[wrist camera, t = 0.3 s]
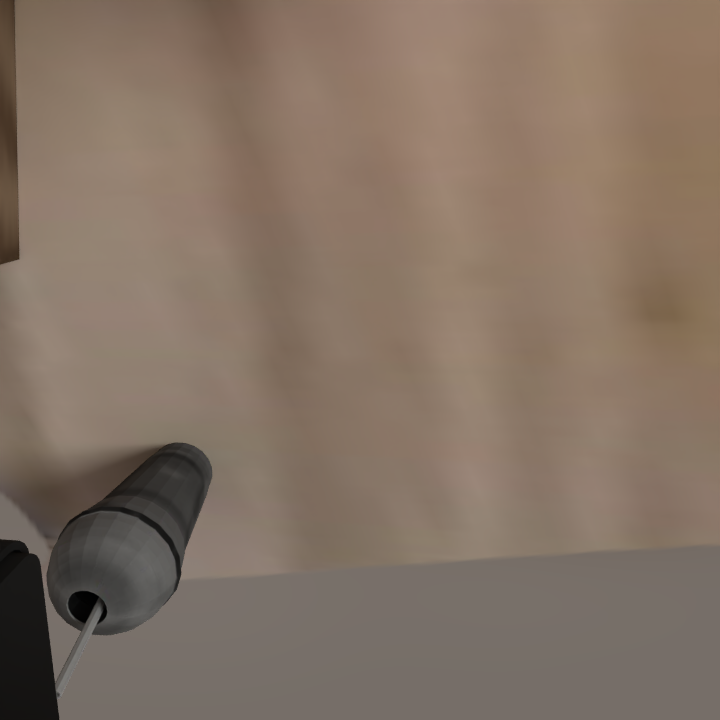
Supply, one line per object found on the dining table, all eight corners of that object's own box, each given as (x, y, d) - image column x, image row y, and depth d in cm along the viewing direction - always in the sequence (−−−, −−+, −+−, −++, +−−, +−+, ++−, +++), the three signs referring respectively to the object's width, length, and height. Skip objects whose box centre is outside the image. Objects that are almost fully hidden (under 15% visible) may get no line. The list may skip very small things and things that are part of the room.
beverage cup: (199, 409, 47) (61, 584, 28) (248, 492, 49) (150, 710, 29) (115, 448, 48) (-72, 640, 29) (166, 527, 50) (21, 757, 31)
